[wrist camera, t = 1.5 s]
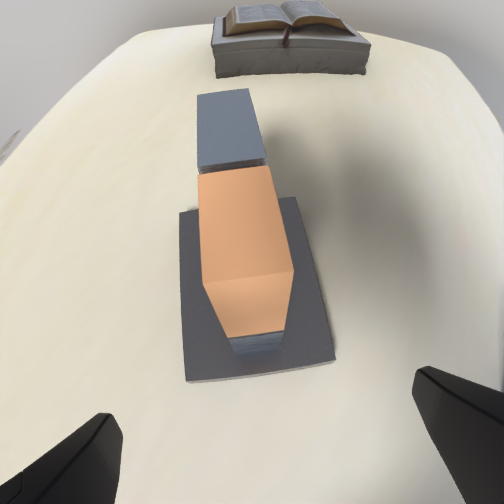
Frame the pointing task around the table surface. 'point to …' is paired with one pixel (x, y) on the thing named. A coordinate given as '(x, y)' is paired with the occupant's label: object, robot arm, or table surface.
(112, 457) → the robot arm
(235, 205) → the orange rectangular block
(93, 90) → the table surface
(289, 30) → the bible
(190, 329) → the stand
